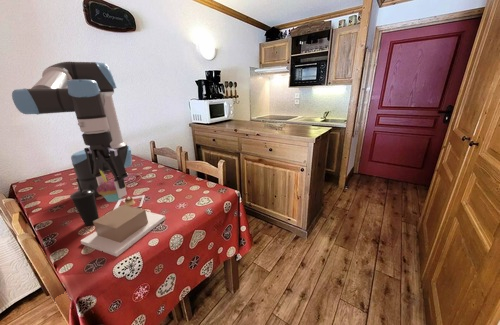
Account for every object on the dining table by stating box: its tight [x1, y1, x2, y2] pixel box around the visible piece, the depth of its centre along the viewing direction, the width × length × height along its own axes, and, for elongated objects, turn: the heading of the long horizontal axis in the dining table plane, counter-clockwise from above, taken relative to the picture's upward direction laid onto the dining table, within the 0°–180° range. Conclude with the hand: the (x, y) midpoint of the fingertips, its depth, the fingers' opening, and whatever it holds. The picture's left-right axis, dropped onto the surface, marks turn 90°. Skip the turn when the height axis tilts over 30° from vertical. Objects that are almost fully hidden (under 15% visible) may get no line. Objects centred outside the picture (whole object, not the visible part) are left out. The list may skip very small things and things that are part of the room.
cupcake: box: [97, 169, 127, 203], centre depth 72 cm, size 9×8×12 cm
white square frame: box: [112, 194, 146, 211], centre depth 98 cm, size 12×12×5 cm
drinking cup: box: [69, 177, 100, 227], centre depth 82 cm, size 8×8×20 cm
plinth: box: [80, 204, 167, 257], centre depth 78 cm, size 18×22×8 cm
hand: (114, 194), depth 73 cm, fingers closed on cupcake, 8 cm apart
